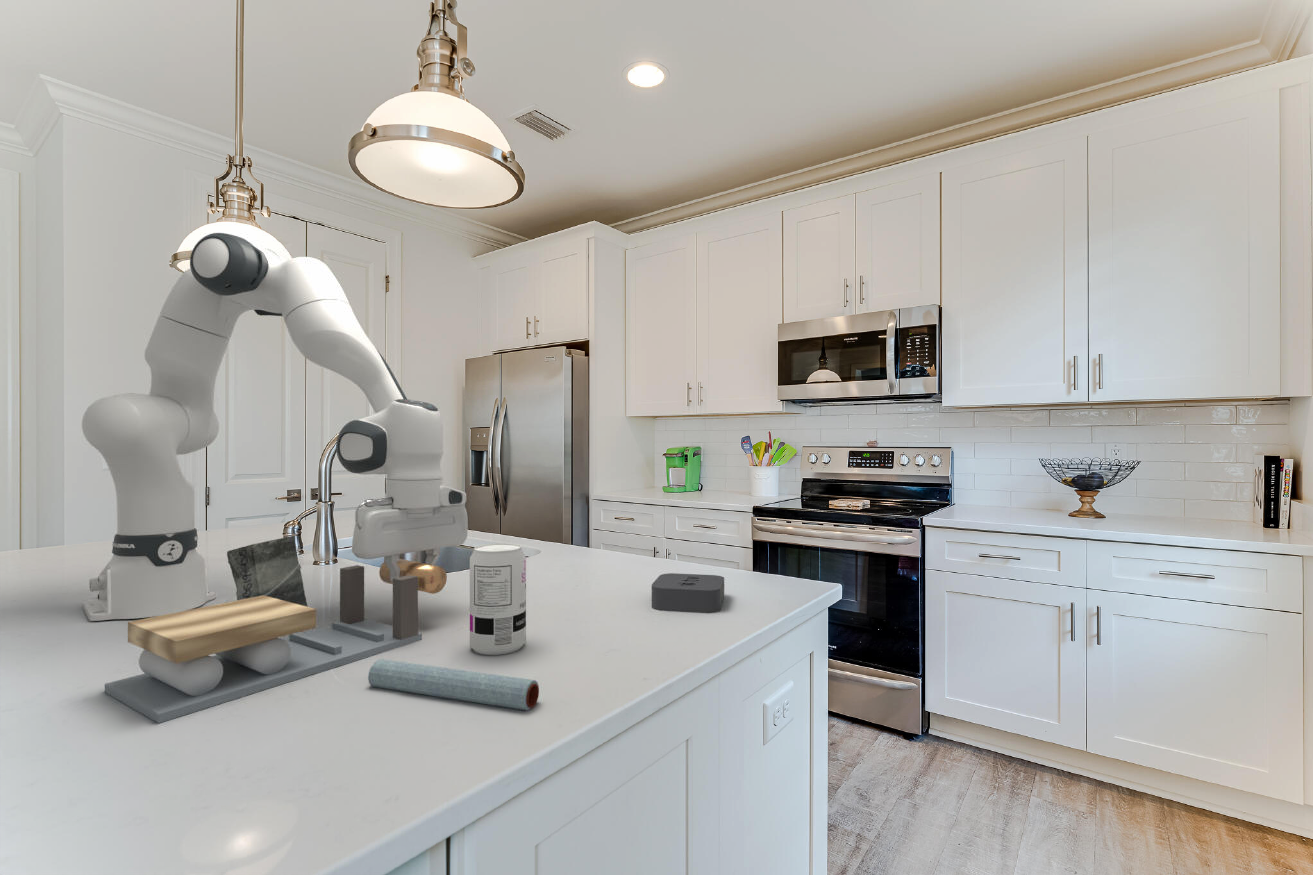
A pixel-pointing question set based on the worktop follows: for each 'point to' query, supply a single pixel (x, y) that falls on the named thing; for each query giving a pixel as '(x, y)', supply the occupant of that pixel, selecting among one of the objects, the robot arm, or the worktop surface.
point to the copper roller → (419, 575)
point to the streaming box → (688, 593)
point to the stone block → (268, 571)
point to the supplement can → (497, 598)
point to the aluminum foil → (455, 684)
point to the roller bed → (252, 681)
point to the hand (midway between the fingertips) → (412, 577)
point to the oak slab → (219, 627)
